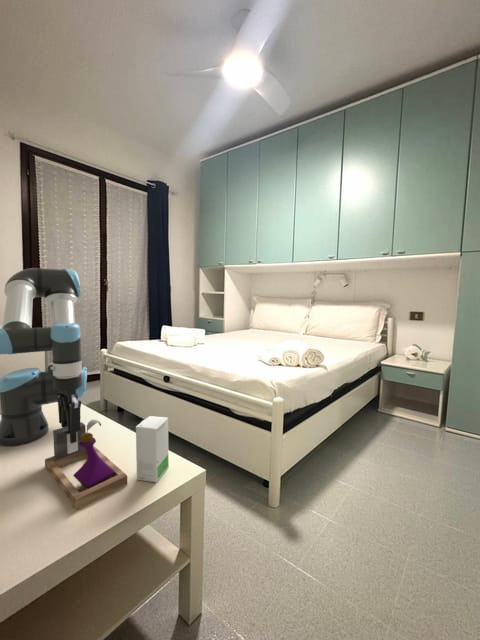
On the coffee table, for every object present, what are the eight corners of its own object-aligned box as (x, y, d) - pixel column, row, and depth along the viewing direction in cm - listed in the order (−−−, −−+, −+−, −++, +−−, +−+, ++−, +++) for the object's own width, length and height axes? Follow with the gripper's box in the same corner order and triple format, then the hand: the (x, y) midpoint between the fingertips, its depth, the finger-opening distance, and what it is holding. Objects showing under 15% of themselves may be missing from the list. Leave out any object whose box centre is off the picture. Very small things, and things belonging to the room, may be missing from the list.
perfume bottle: (87, 498, 76) (85, 430, 74) (73, 486, 80) (70, 422, 78) (114, 483, 82) (113, 420, 80) (100, 472, 86) (98, 413, 84)
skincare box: (156, 483, 82) (156, 429, 80) (134, 480, 83) (133, 426, 81) (169, 466, 90) (169, 416, 88) (149, 463, 91) (149, 414, 90)
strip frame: (45, 467, 88) (43, 433, 87) (90, 450, 98) (89, 419, 97) (76, 509, 72) (74, 468, 71) (127, 484, 81) (126, 447, 80)
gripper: (44, 372, 92) (48, 444, 94) (63, 384, 81) (66, 465, 83) (71, 367, 97) (73, 436, 100) (91, 378, 86) (93, 454, 89)
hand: (70, 449), depth 91 cm, fingers closed on strip frame, 3 cm apart
